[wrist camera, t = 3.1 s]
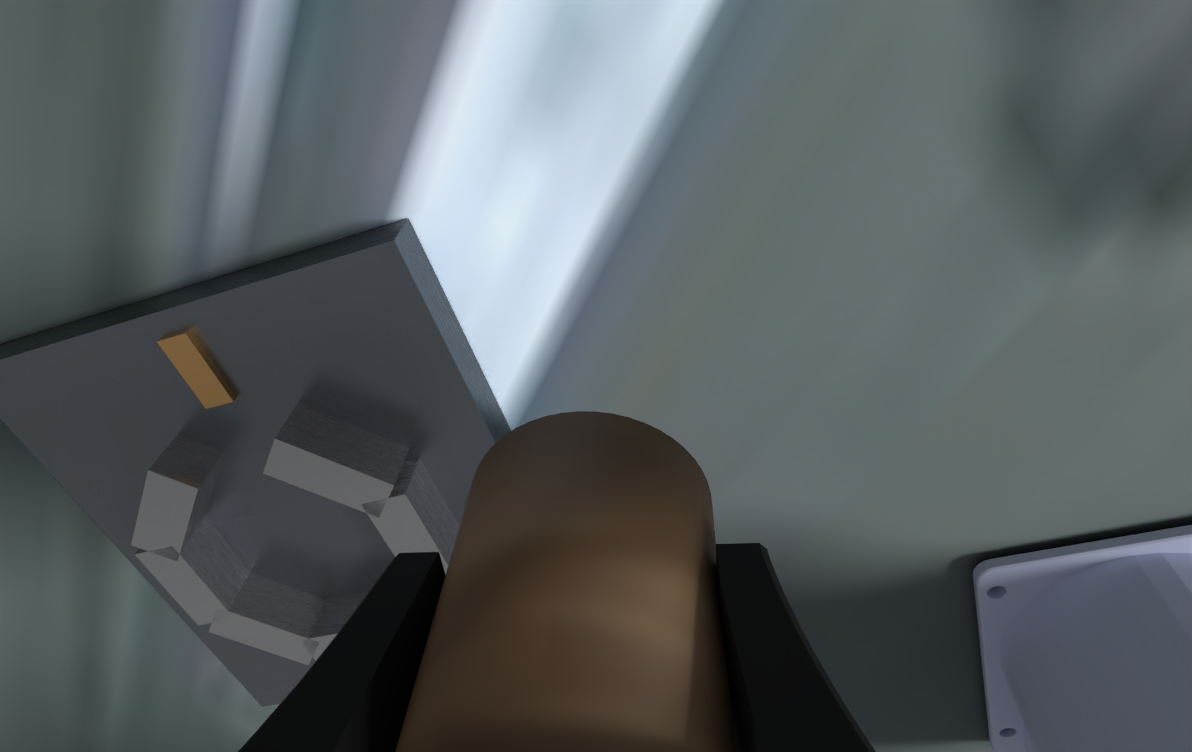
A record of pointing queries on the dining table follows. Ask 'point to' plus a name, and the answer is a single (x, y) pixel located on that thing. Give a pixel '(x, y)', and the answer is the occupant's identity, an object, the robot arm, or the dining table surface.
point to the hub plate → (266, 439)
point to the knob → (578, 601)
